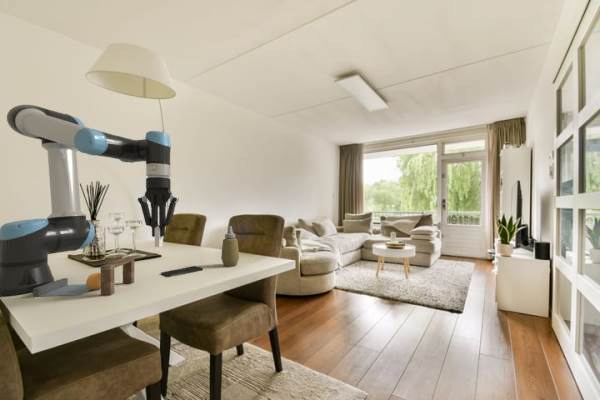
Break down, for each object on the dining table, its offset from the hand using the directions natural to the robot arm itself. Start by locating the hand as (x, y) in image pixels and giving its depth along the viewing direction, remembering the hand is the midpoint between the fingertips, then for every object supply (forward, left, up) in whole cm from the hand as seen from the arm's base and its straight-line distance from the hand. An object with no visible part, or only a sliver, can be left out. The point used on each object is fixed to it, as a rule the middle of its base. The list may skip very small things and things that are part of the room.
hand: (158, 246), depth 95 cm
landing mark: (-27, 0, -14) cm, 30 cm away
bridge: (-13, 0, -14) cm, 19 cm away
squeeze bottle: (+19, +31, -14) cm, 39 cm away
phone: (+1, +21, -15) cm, 26 cm away
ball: (-20, 0, -11) cm, 23 cm away
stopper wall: (-34, 0, -14) cm, 37 cm away
